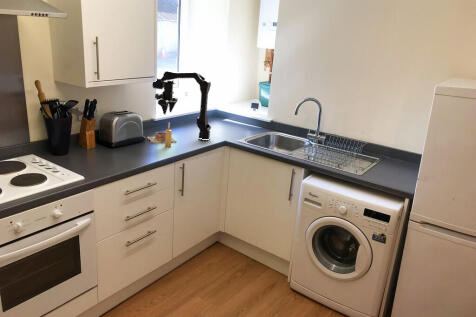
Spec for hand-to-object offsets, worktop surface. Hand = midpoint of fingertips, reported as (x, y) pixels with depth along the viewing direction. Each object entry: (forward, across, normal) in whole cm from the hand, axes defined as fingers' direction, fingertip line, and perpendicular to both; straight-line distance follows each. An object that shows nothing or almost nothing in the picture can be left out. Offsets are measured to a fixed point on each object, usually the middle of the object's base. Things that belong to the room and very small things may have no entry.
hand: (167, 113), depth 271 cm
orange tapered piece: (+14, +28, +14) cm, 34 cm away
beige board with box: (+14, +17, +5) cm, 23 cm away
